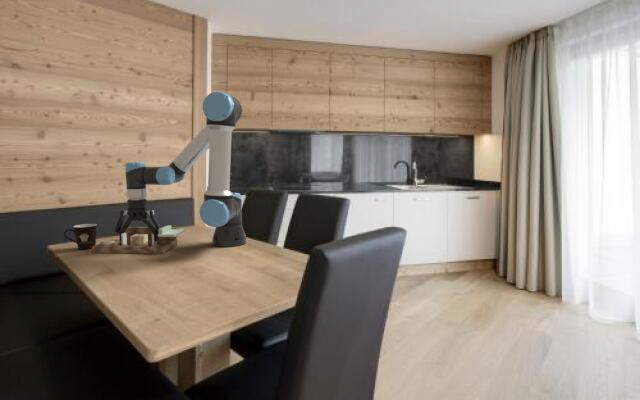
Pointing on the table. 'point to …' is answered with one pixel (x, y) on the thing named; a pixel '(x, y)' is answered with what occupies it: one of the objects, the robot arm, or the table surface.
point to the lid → (169, 231)
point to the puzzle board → (117, 247)
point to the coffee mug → (84, 236)
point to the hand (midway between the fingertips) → (139, 248)
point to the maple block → (139, 239)
